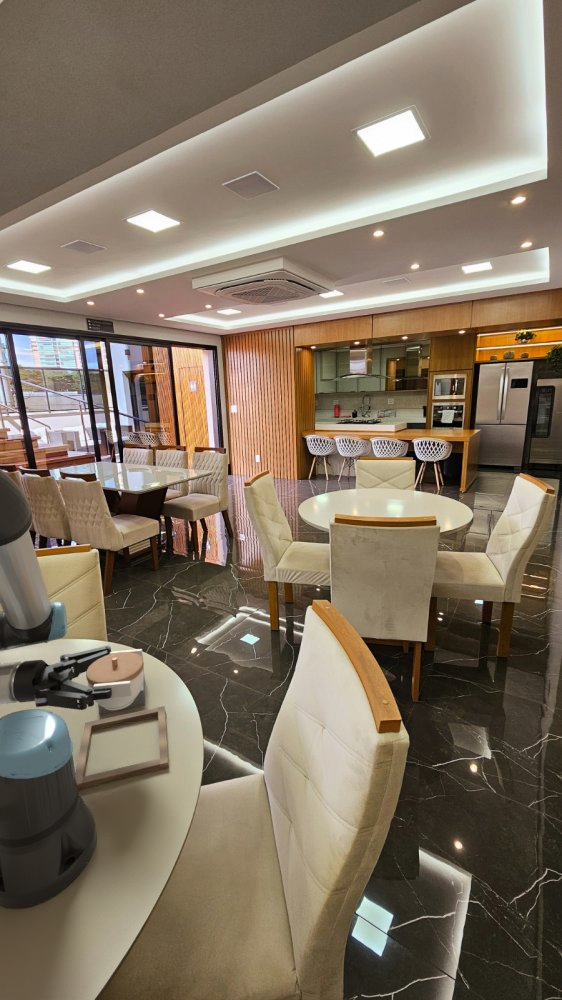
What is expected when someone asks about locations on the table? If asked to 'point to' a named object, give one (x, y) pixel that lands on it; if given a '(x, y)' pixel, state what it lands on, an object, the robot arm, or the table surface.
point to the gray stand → (137, 702)
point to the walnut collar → (128, 770)
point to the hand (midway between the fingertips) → (136, 670)
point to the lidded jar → (117, 676)
